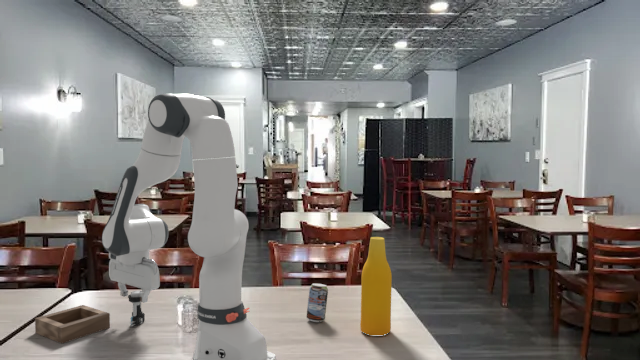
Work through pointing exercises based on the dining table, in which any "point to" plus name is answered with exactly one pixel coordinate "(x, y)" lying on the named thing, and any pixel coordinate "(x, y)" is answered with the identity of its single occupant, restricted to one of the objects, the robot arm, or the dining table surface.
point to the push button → (136, 308)
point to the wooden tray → (72, 323)
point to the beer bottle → (376, 290)
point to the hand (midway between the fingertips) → (133, 298)
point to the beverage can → (317, 302)
